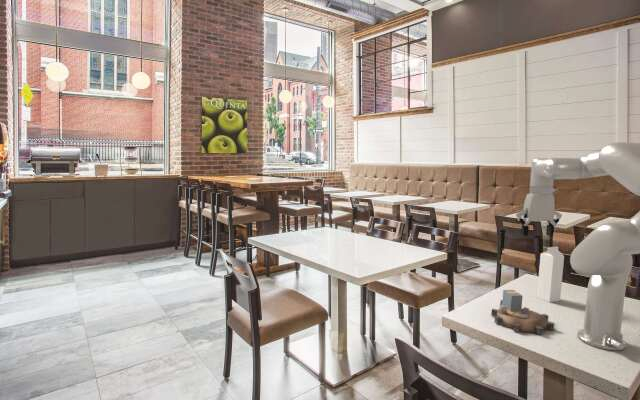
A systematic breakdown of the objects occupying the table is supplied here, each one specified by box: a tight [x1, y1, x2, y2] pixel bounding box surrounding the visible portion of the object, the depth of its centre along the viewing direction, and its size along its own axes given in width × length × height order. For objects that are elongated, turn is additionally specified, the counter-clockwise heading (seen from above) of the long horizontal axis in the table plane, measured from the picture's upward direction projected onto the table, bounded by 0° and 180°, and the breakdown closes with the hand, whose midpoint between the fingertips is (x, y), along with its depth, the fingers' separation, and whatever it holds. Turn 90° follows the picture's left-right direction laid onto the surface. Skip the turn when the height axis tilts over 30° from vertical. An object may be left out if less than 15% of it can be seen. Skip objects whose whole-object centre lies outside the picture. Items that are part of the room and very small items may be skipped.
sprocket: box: [490, 304, 555, 335], centre depth 137 cm, size 20×20×4 cm
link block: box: [501, 289, 523, 312], centre depth 144 cm, size 6×4×6 cm, turn 3°
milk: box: [536, 246, 565, 303], centre depth 159 cm, size 6×6×22 cm
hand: (537, 235), depth 149 cm, fingers open, 9 cm apart
